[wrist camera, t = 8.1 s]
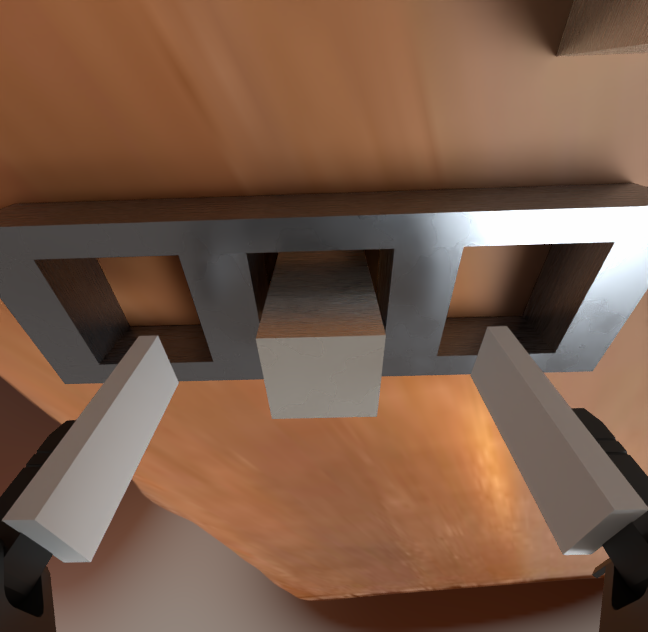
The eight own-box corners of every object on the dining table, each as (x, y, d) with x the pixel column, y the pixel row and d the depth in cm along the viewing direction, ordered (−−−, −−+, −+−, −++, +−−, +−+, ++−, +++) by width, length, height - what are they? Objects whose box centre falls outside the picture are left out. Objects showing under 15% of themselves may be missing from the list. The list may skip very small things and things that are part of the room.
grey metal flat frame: (14, 203, 16) (-53, 228, 13) (633, 183, 15) (703, 204, 13) (99, 345, 21) (64, 384, 19) (556, 333, 21) (592, 371, 18)
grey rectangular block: (280, 245, 17) (255, 338, 11) (362, 242, 17) (385, 335, 11) (288, 311, 20) (272, 418, 13) (359, 309, 20) (377, 416, 13)
